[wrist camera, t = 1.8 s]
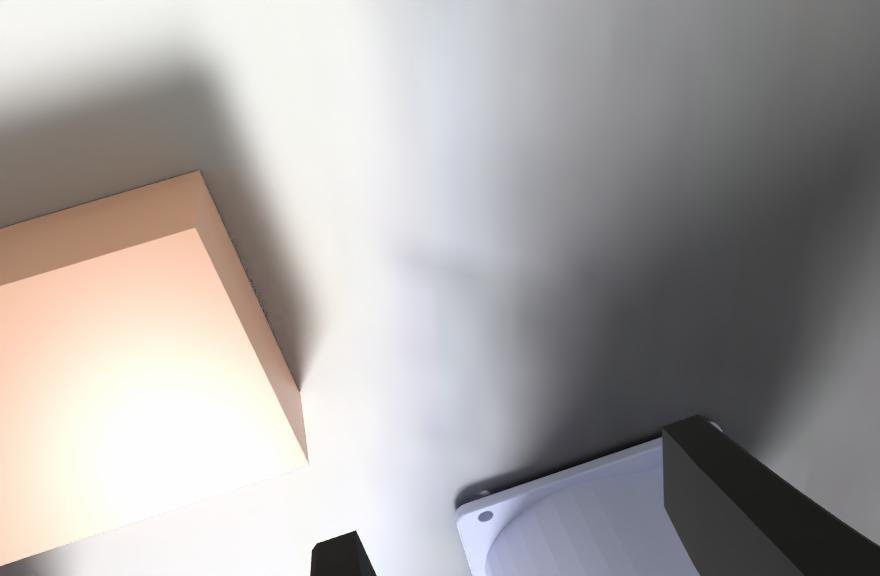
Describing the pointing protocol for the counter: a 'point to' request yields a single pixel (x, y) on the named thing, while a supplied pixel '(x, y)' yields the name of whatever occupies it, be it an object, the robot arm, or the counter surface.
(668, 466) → the robot arm
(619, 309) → the counter surface
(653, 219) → the counter surface
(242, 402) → the peach rectangular block
